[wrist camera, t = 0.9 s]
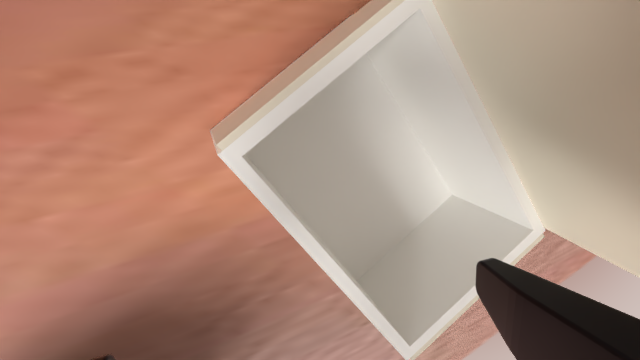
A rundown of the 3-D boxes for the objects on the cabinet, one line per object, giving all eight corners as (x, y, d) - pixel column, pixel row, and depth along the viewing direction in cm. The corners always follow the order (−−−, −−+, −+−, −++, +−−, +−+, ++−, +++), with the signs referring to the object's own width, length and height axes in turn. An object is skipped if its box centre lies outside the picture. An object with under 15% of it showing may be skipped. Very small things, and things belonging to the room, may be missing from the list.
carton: (354, 291, 25) (409, 364, 18) (205, 126, 19) (211, 148, 13) (459, 196, 26) (547, 234, 19) (347, 10, 20) (420, -23, 14)
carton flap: (841, 383, 10) (856, 372, 10) (837, -151, 5) (869, -176, 5) (544, 227, 19) (551, 222, 19) (426, -11, 14) (436, -20, 14)
